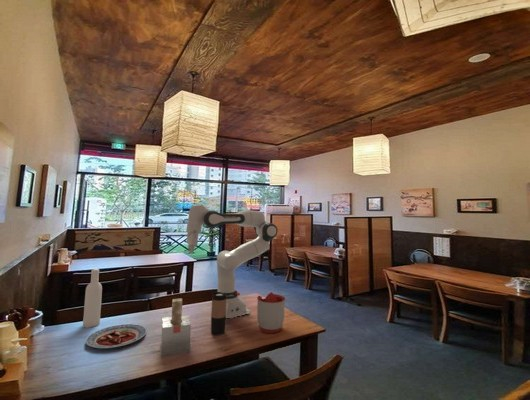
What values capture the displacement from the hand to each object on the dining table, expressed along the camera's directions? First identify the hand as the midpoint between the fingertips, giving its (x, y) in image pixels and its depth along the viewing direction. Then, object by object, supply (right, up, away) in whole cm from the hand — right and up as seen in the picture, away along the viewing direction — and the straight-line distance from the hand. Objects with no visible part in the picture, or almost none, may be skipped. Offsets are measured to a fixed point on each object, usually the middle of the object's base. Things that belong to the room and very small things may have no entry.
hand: (190, 252), depth 160 cm
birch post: (+4, -35, -39) cm, 53 cm away
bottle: (-50, -37, -17) cm, 64 cm away
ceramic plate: (-27, -37, -32) cm, 55 cm away
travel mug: (+21, -38, -22) cm, 49 cm away
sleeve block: (+4, -36, -39) cm, 54 cm away
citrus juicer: (+48, -40, -16) cm, 64 cm away
